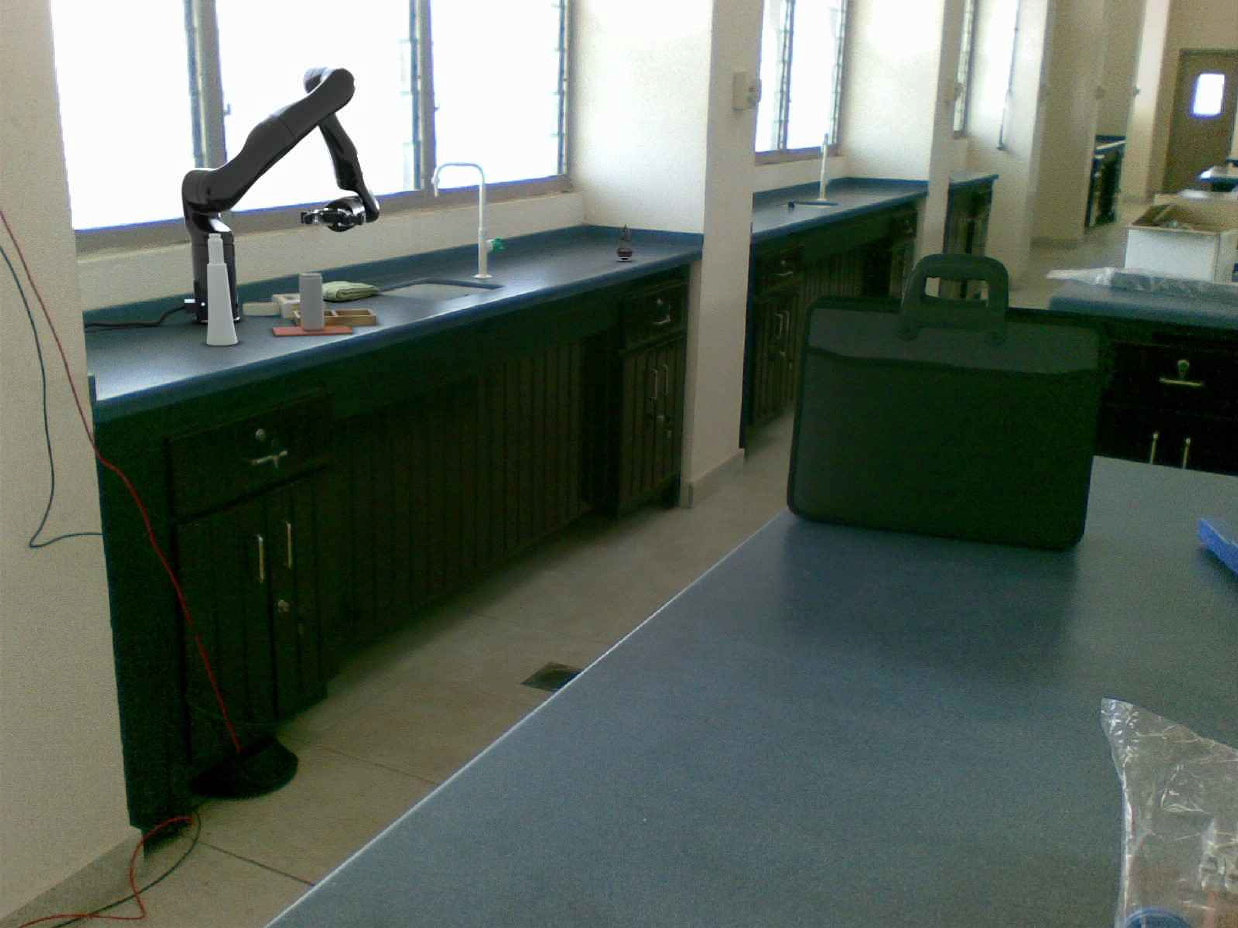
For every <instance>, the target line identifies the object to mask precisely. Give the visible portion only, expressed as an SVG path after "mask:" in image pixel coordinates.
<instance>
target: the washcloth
mask: <svg viewBox="0 0 1238 928" xmlns="http://www.w3.org/2000/svg"><path fill="white" fill-rule="evenodd" d="M322 289H323V300H327V301H330V302H331V301H332V302H333V301H334V302H343V301H349V300H350V301H351V300H352V301H353V300H355V299H360V298H366V297H370V296H372V295H373V296H374V295H377V293H379V292H380V289H379V288H378V287H376V286H375V285H371V284H365V283H361V282H358V283H357V282H356V283H355V282H350V281H345V280H344V281H343V280H341V281H336V280H335V281H330V282H325V283H322Z"/></svg>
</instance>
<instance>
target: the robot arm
mask: <svg viewBox="0 0 1238 928" xmlns="http://www.w3.org/2000/svg"><path fill="white" fill-rule="evenodd" d="M301 86H302V92H303V94H304V96H302V97H301V98H298V99H295V100H293V101H291V102H288V103H285V104H282V105H281V106H278V107H276V108H273V109H272V110H270V111H268V112H267V113H266V114H264V115H263V116H262V117H261V118H260V119H259V120H258V121H256V122H254V124H253V125H252V126H251V127H249V129H248V131H247V132H246V134H245V136H244V139H243V142H242V145H241V149H240V150H239V151H238V152H237V154H236V155H235V156H234V157H232V158H231V159H230V160H229V161H227V162H226V163H224V164H223V165H221V166H220V167H218V168H203V167H197V168H192V169H190V170H189V171H187V172H186V173H185V175H184V176H183V178H182V181H181V187H180V190H181V191H180V193H181V194H180V195H181V204H182V212H183V219H184V220H183V221H184V227H185V230H186V232H187V234H188V236H189V242H190V243H189V244H190V257H191V270H192V286H193V298H191V299H190V298H188V299H184V304H181V305H179V306H175V307H172V308H170V309H167V310H165V311H164V312H163V313H162V314H161V315H160V317H159V318H158V319H157V320H155V321H141V320H140V321H118V322H108V321H107V322H106V321H98V320H97V321H96V320H95V321H94V320H93V321H87V322H84V323H85V329H87V328H89V327H101V328H102V327H104V328H122V327H148V328H149V327H157V326H160V325H161V324H163V323H164V321H165V319H166V318H167V317H168V316H170V315H172V314H174V313H177V312H180V311H183V310H184V313H185V314H194V315H195V320H194V321H195V323H196V324H207V325H208V280H207V264H209V250H208V239H210V237H209V234H221V237H220V239H222V242H223V257H224V263H225V264H226V267H227V275H228V283H229V292H230V301H231V309H232V317H233V323H236V322H238V321H240V320H241V319H240V310H239V298H238V297H239V296H238V295H239V294H238V293H239V292H238V279H237V278H238V277H237V264H236V247H235V234H234V232H233V230H232V229H231V228H230V227H228V226H227V225H226V224H225V223H224V221H223V219H222V217H221V213H225V212H228V211H229V210H232V209H233V208H234V207H235V206H236V205H237V204H238V203H239V202H240V201H241V199H243V197H244V196H245V195H246V194H247V193H248V191H249V190H250V189H251V188H252V187H253V186H254V185H255V183H256V182H257V181H258V180H259V179H261V178H262V176H264V175H265V174H266V173H267V172H269V170H270V169H271V168H273V167H274V165H276V164H277V163H278V162H280V160H282V159H283V158H284V157H285V156H287V155H288V154H289V153H290V152H291V151H292V150H293V149H294V148H295V147H296V146H297V145H298V144H299V143H300V142H302V140H304V139H305V138H306V137H308V135H309V134H311V133H312V132H313V131H314V130H315V129H316V128H318V130H319V132H320V134H321V137H322V139H323V142H324V144H325V147H326V150H327V154H328V157H329V160H330V164H331V168H332V171H333V176H334V179H335V183H336V186H337V187H338V189H340V190H342V191H347V192H353V193H355V195H347V196H341V197H339V198H336V199H332V200H331V201H328V203H326V204H325V206H324V207H323V209H315V210H314V211H313V210H311V209H308V210H303V211H300V212H299V220H300V224H301V225H302V224H305V225H308V226H309V225H313V224H314V225H316V226H326V227H327V229H329V230H330V231H332V232H334V233H344V232H347V231H349V230H352V229H355V227H357V226H360V227H361V226H363V225H365V224H369V223H375V222H376V221H377V220H378V219H379V216H380V212H381V211H380V205H379V202H378V199H377V198H376V196H375V194H374V193H373V191H372V189H371V187H370V186H369V184H368V182H367V180H366V177H365V174H364V169H363V165H362V161H361V157H360V154H359V152H358V149H357V147H356V146H355V143H354V142H353V140H352V139H351V137H350V135H349V134H348V133H347V131H346V130H345V128H344V127H343V126H342V124H341V121H340V120H339V119H338V116H337V113H338V112H339V111H340V110H342V109H343V108H345V107H346V106H347V105H348V104H349V103H350V102H351V100H352V99H353V97H354V95H355V91H356V86H357V85H356V79H355V77H354V75H353V73H351V71H350V70H348V69H346V68H344V67H341V66H337V65H329V64H311V65H309V66H308V67H307V68H306V69H305V70H304V72H303V74H302V78H301Z"/></svg>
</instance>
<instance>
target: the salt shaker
mask: <svg viewBox="0 0 1238 928" xmlns="http://www.w3.org/2000/svg"><path fill="white" fill-rule="evenodd" d="M630 231H631V230H630V228H629V227H628V226H627V224H626V223H625V224H624V226H623V227H621V228H620V237H619V239H620V244H619V248H616V249H615V251H616V255H617V256H618V258H620V257H630V258H632V256H633V254H634V251H635V250H634V249H632V248H631V246H630V245H631V243H630V242H631V241H630V240H631V238H630V233H631V232H630ZM620 259H622V260H628V259H629V258H620Z"/></svg>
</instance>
